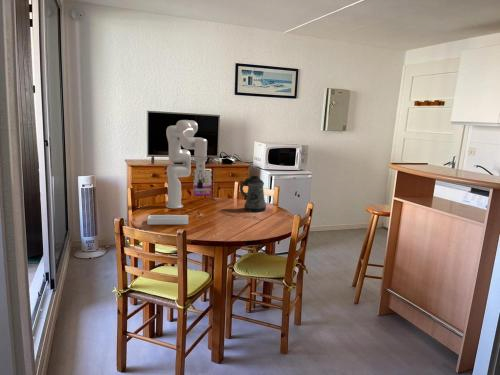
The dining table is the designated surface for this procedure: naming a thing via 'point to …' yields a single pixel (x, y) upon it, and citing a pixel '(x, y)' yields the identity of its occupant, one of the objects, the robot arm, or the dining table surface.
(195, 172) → the candy bar box
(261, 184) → the beer stein
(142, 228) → the dining table surface
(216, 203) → the dining table surface
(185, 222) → the acrylic channel
